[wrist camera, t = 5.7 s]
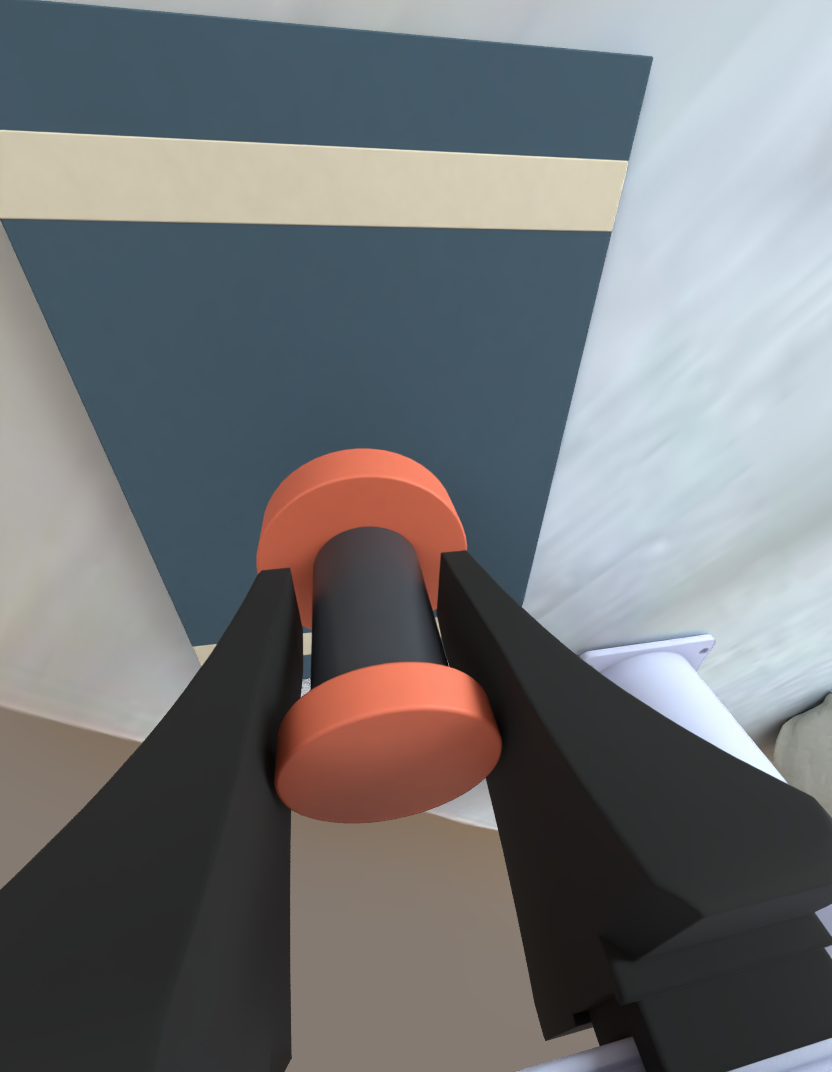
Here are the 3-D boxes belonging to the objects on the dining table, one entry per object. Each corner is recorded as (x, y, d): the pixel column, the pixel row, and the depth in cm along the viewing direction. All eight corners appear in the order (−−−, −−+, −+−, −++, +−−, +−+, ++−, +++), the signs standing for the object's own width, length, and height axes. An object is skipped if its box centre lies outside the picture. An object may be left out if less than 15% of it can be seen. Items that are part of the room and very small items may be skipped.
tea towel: (509, 645, 21) (511, 651, 21) (214, 686, 19) (212, 692, 19) (646, 59, 9) (654, 55, 9) (-92, -7, 7) (-108, -14, 7)
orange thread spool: (448, 592, 14) (521, 812, 9) (280, 611, 13) (255, 864, 8) (461, 441, 11) (589, 647, 6) (242, 454, 10) (160, 706, 5)
